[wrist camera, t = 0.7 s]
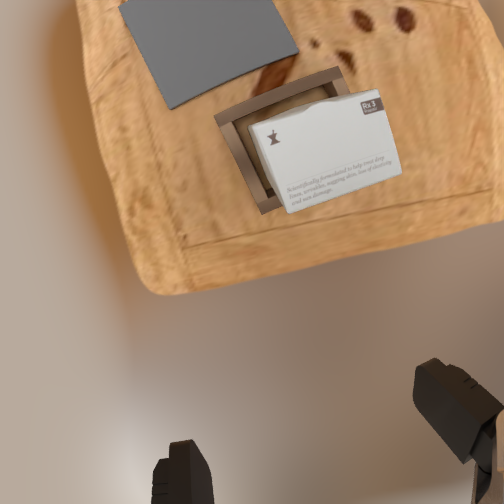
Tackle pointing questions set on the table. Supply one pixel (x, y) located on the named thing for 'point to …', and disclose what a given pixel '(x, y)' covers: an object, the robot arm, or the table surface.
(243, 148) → the walnut collar
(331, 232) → the table surface
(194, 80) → the charcoal mat
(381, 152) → the skincare box
